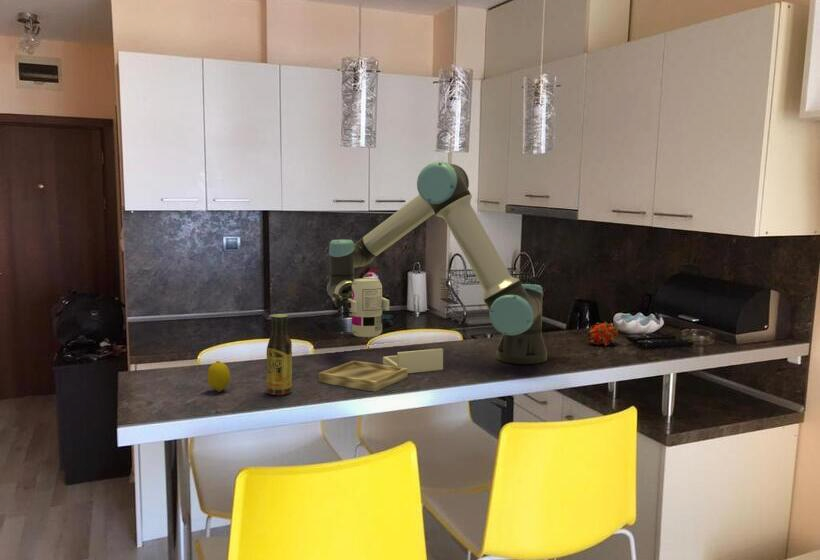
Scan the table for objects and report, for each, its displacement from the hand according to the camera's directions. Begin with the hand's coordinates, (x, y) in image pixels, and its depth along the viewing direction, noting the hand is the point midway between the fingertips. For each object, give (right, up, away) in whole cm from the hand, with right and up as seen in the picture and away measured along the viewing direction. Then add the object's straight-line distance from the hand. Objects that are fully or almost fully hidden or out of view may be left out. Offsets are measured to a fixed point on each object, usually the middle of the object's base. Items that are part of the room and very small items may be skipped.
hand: (371, 306), depth 175 cm
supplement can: (-2, -8, +5) cm, 10 cm away
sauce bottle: (-23, -22, -8) cm, 32 cm away
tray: (-2, -20, +4) cm, 20 cm away
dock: (+11, -18, +18) cm, 28 cm away
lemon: (-38, -22, -7) cm, 45 cm away
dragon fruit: (+74, -15, +46) cm, 89 cm away
